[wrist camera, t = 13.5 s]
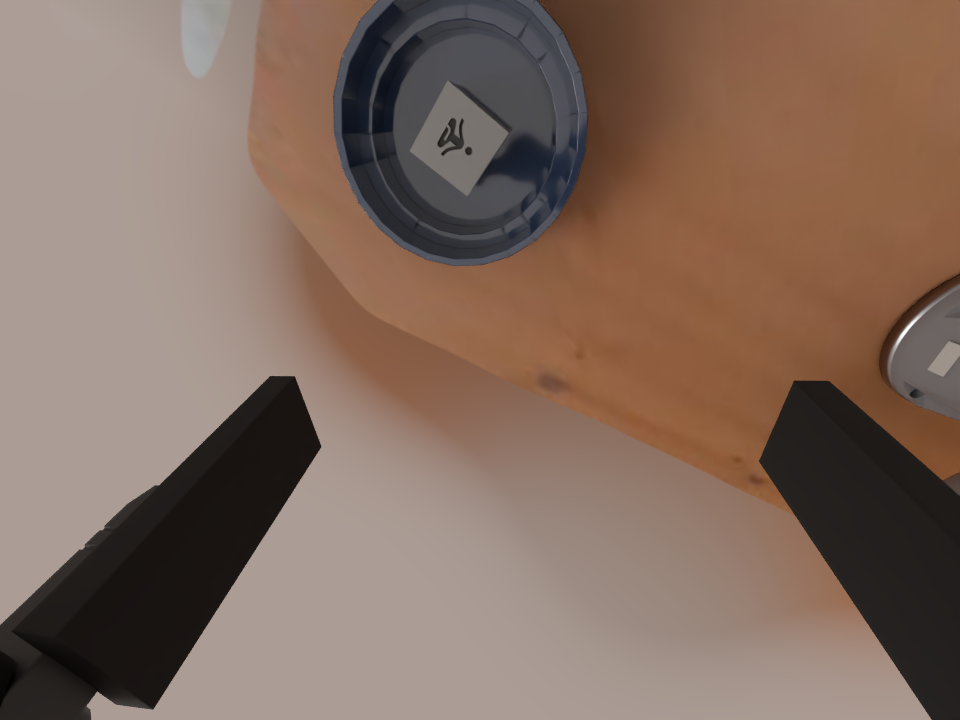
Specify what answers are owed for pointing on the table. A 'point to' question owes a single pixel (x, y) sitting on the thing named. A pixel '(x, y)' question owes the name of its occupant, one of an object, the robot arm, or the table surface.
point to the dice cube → (459, 138)
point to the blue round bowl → (489, 80)
